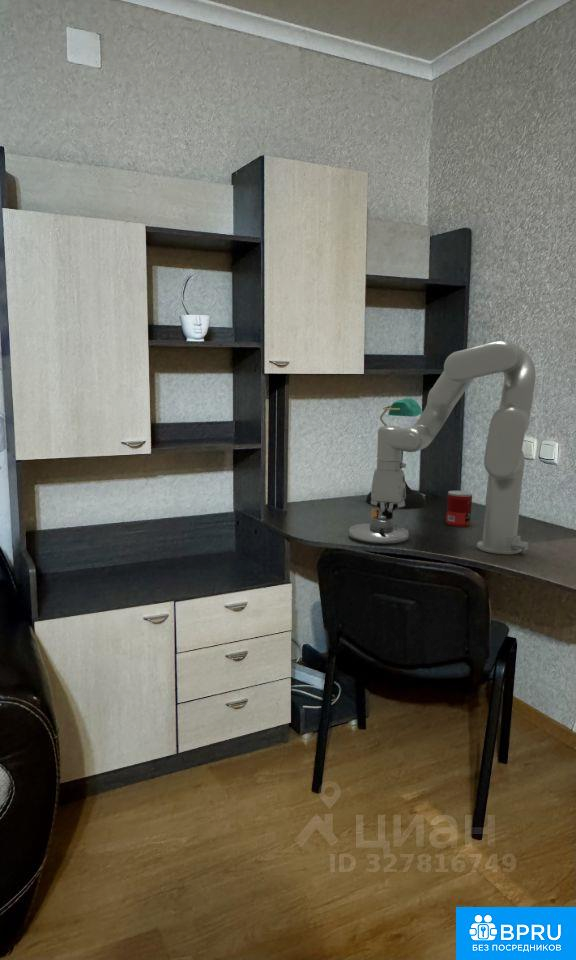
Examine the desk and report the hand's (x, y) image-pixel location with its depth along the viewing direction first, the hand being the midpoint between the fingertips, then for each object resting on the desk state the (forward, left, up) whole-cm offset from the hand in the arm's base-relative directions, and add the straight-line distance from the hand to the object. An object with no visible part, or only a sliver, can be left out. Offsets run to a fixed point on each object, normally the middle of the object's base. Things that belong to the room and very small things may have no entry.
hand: (387, 523), depth 218 cm
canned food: (-6, -31, -4) cm, 32 cm away
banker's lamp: (+30, -43, -4) cm, 52 cm away
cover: (-3, +6, -1) cm, 7 cm away
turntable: (-2, +6, -3) cm, 7 cm away
